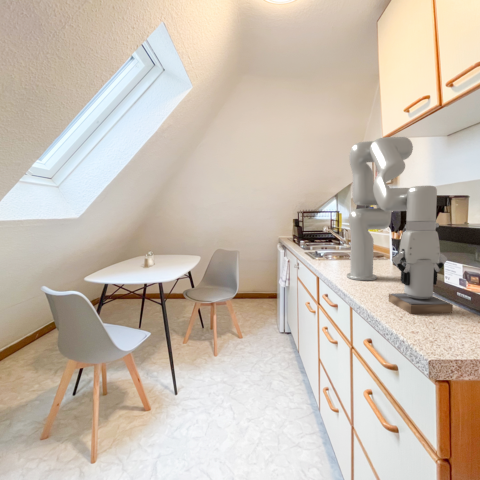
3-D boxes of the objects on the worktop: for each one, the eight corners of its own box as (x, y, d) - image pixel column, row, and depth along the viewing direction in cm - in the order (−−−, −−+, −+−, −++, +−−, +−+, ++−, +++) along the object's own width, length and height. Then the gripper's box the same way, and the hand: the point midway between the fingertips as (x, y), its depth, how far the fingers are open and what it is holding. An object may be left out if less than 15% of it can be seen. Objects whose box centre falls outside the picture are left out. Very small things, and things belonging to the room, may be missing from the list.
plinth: (388, 302, 92) (388, 293, 91) (424, 302, 92) (425, 292, 91) (410, 315, 80) (410, 304, 80) (452, 314, 80) (452, 303, 79)
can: (437, 300, 81) (439, 260, 80) (409, 299, 83) (411, 259, 82) (426, 293, 88) (427, 256, 87) (400, 292, 90) (401, 256, 89)
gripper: (440, 225, 87) (438, 280, 89) (385, 227, 87) (384, 281, 89) (459, 226, 80) (456, 286, 81) (398, 228, 80) (397, 287, 82)
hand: (418, 283), depth 85 cm, fingers closed on can, 7 cm apart
